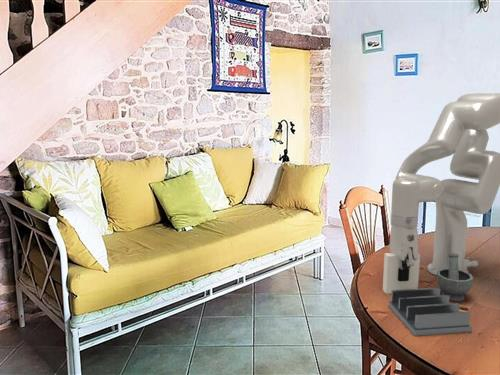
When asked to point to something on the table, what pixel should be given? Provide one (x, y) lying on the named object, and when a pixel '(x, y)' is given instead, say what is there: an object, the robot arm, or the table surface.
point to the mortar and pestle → (454, 280)
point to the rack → (428, 312)
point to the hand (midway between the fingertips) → (400, 278)
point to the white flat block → (392, 274)
